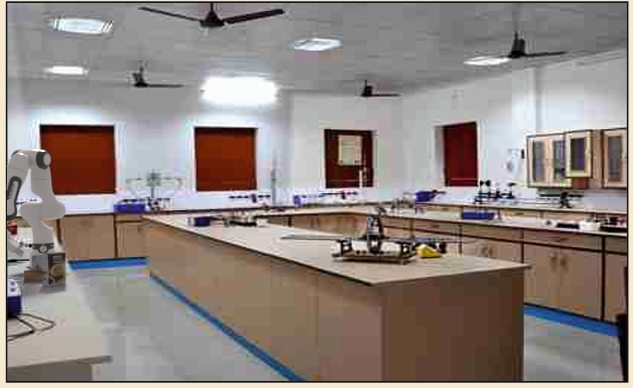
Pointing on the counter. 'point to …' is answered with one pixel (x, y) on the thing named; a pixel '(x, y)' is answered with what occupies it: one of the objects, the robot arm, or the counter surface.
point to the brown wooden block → (33, 276)
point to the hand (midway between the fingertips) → (22, 254)
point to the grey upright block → (37, 262)
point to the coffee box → (54, 269)
